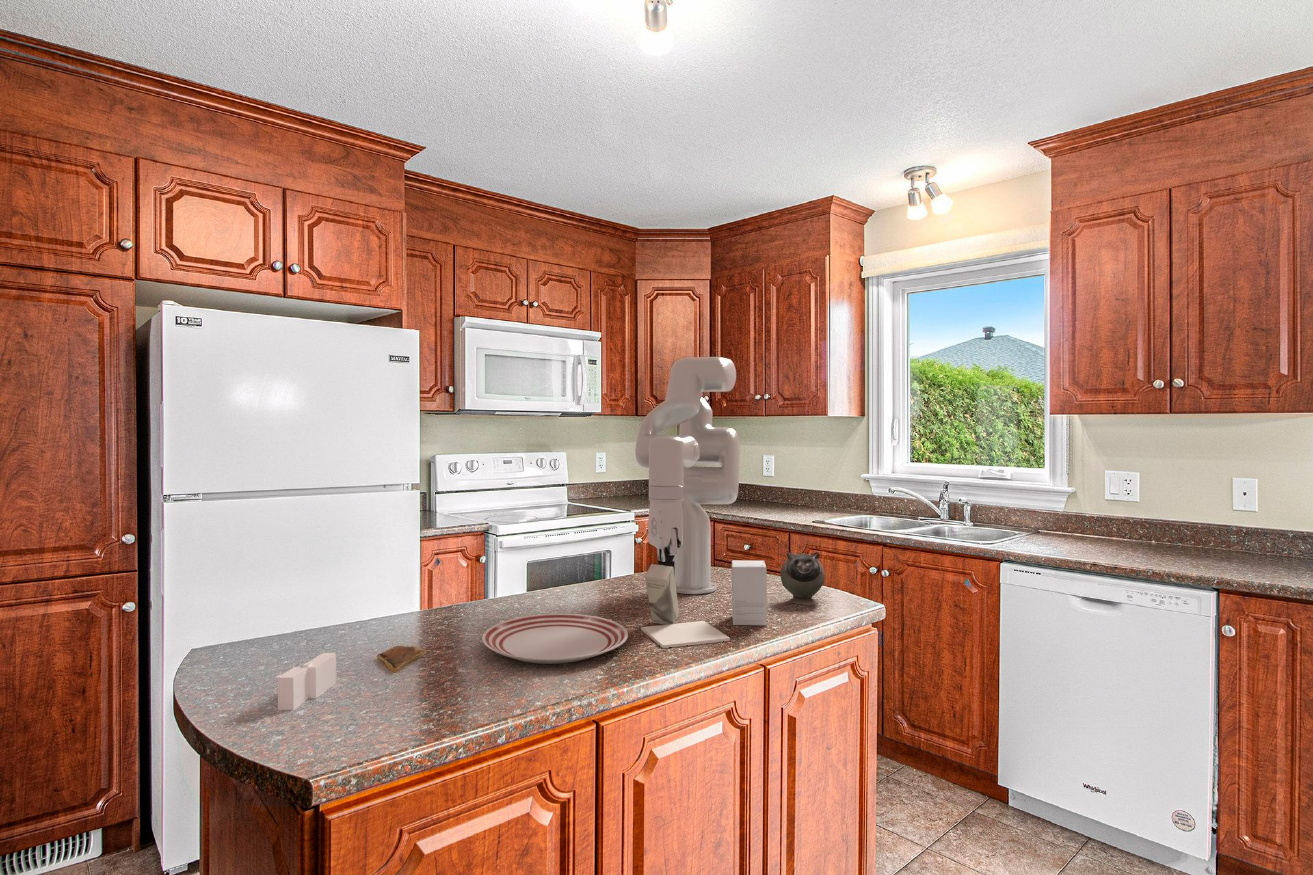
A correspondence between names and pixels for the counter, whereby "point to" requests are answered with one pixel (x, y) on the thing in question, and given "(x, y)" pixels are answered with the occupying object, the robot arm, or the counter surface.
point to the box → (662, 594)
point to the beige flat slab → (684, 634)
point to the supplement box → (749, 592)
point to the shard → (400, 656)
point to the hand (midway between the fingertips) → (666, 579)
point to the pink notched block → (306, 681)
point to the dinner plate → (554, 637)
